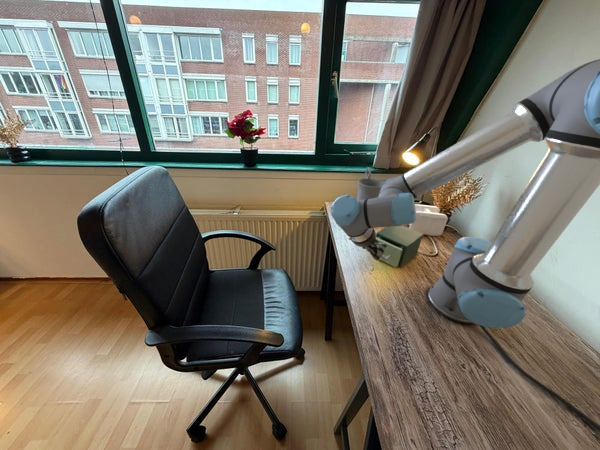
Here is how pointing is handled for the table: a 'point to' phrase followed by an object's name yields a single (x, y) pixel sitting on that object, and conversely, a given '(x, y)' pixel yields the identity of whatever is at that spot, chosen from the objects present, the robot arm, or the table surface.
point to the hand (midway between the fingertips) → (378, 256)
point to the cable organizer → (429, 220)
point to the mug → (368, 187)
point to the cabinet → (403, 240)
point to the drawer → (391, 252)
